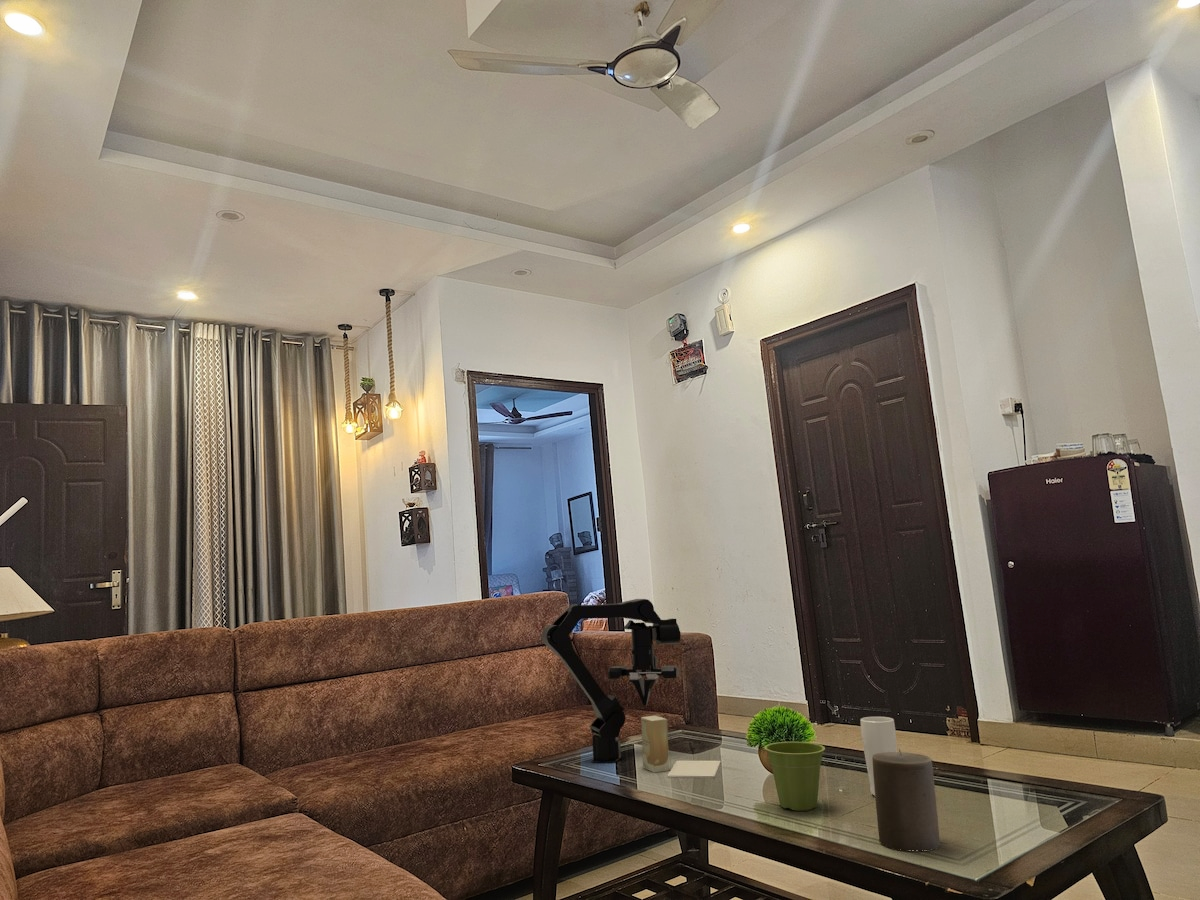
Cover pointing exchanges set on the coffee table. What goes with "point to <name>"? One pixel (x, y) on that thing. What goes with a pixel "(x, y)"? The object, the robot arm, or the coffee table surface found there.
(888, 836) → the pillar candle
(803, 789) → the plant pot
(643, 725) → the skincare box
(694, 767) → the mat
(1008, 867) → the coffee table surface
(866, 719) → the drinking glass
